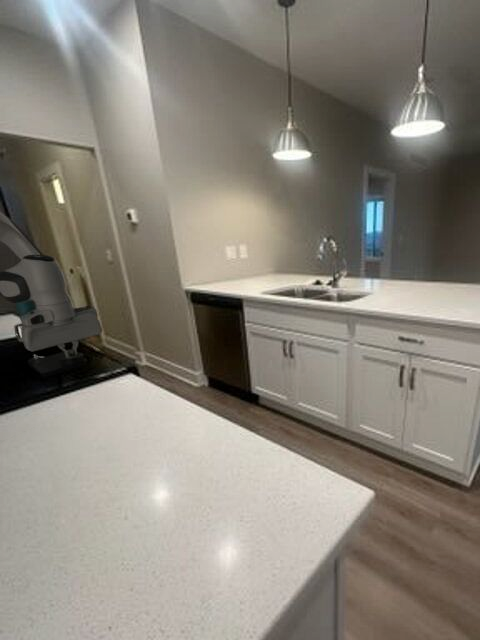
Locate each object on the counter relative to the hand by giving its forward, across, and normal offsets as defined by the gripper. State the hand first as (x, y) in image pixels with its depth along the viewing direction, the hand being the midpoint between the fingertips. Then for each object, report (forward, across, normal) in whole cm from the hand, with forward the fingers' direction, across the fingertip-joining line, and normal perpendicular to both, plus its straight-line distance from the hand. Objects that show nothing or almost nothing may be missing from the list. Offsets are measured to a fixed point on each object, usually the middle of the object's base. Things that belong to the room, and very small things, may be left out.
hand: (71, 355), depth 106 cm
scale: (+3, +3, -5) cm, 7 cm away
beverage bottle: (+3, -1, -42) cm, 42 cm away
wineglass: (+3, +6, -18) cm, 19 cm away
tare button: (+2, 0, 0) cm, 2 cm away
